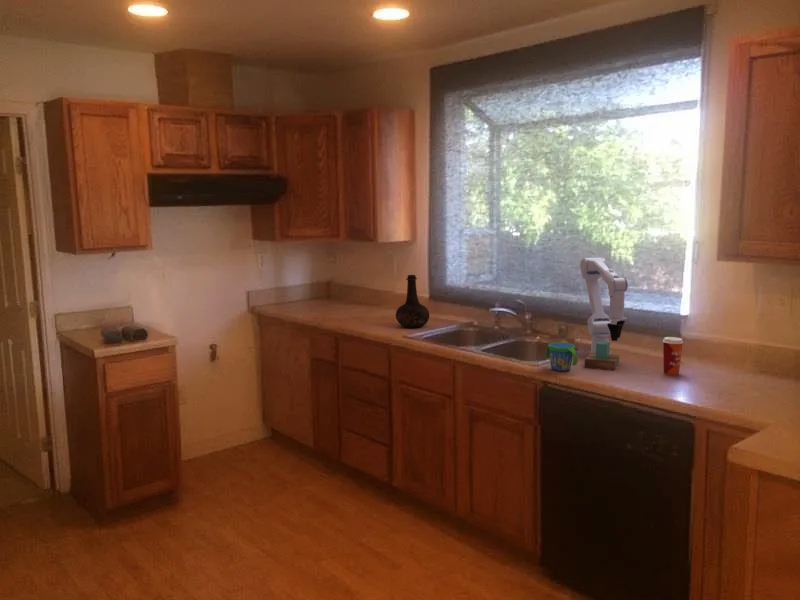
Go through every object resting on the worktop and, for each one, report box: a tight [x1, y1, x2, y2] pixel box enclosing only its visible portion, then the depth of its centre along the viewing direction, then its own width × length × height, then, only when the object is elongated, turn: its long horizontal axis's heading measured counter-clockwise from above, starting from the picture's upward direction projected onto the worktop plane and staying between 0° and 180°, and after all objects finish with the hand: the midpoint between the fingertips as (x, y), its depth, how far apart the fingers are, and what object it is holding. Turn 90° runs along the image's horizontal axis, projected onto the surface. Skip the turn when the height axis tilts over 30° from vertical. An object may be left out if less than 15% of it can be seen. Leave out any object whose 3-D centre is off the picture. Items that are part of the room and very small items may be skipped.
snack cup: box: [545, 342, 578, 372], centre depth 285 cm, size 16×10×10 cm
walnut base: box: [584, 352, 620, 371], centre depth 293 cm, size 12×12×4 cm
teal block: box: [596, 341, 611, 359], centre depth 292 cm, size 4×4×6 cm
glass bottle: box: [395, 274, 430, 329], centre depth 378 cm, size 18×18×28 cm
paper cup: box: [662, 336, 684, 376], centre depth 279 cm, size 8×8×14 cm
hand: (615, 339), depth 295 cm, fingers open, 7 cm apart
